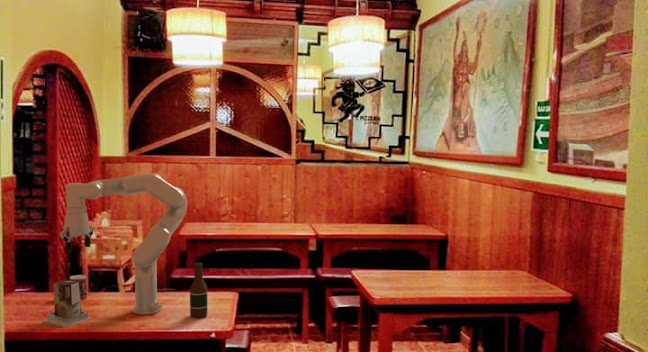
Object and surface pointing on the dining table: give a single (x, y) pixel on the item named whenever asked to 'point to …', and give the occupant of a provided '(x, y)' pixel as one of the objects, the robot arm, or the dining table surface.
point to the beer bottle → (198, 294)
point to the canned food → (81, 284)
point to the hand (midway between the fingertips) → (78, 248)
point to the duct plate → (66, 319)
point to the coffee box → (67, 298)
